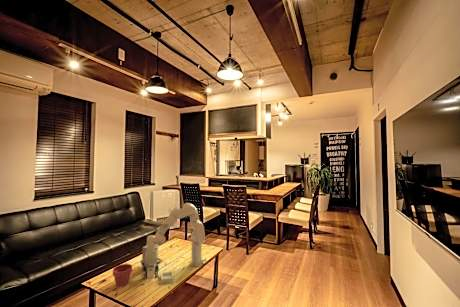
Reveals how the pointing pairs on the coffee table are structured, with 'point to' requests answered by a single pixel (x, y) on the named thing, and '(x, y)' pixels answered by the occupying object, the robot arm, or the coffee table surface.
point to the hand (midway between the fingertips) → (150, 270)
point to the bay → (155, 271)
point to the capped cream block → (151, 270)
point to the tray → (167, 277)
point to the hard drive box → (145, 253)
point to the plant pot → (122, 274)
